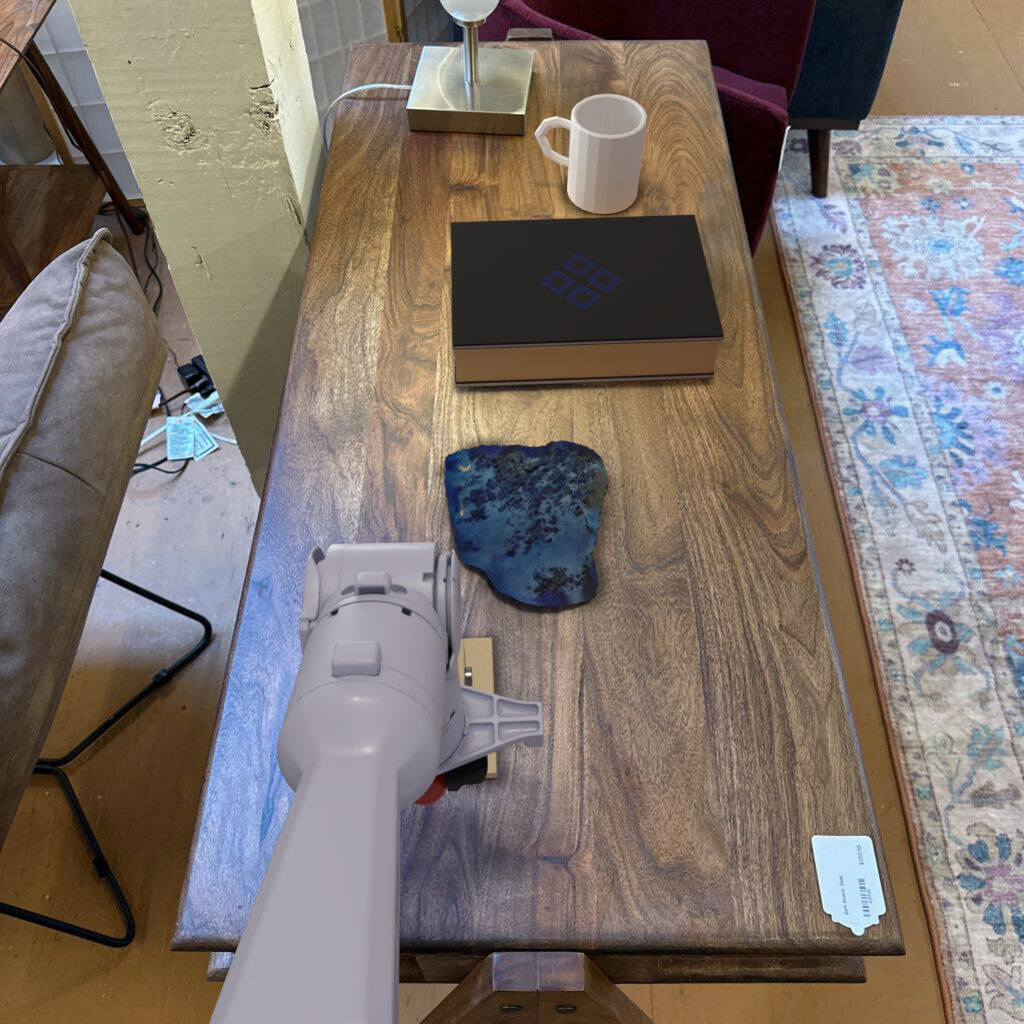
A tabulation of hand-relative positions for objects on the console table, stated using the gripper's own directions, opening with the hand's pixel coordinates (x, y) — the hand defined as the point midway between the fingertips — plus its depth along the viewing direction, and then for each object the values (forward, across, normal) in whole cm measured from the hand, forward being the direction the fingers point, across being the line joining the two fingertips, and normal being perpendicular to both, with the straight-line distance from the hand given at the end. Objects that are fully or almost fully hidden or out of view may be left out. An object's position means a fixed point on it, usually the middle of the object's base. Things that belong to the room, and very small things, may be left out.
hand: (426, 777), depth 59 cm
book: (+9, -14, -49) cm, 52 cm away
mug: (+9, -17, -71) cm, 74 cm away
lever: (+2, 0, -3) cm, 4 cm away
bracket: (+9, 0, -8) cm, 12 cm away
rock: (+9, -8, -25) cm, 28 cm away
